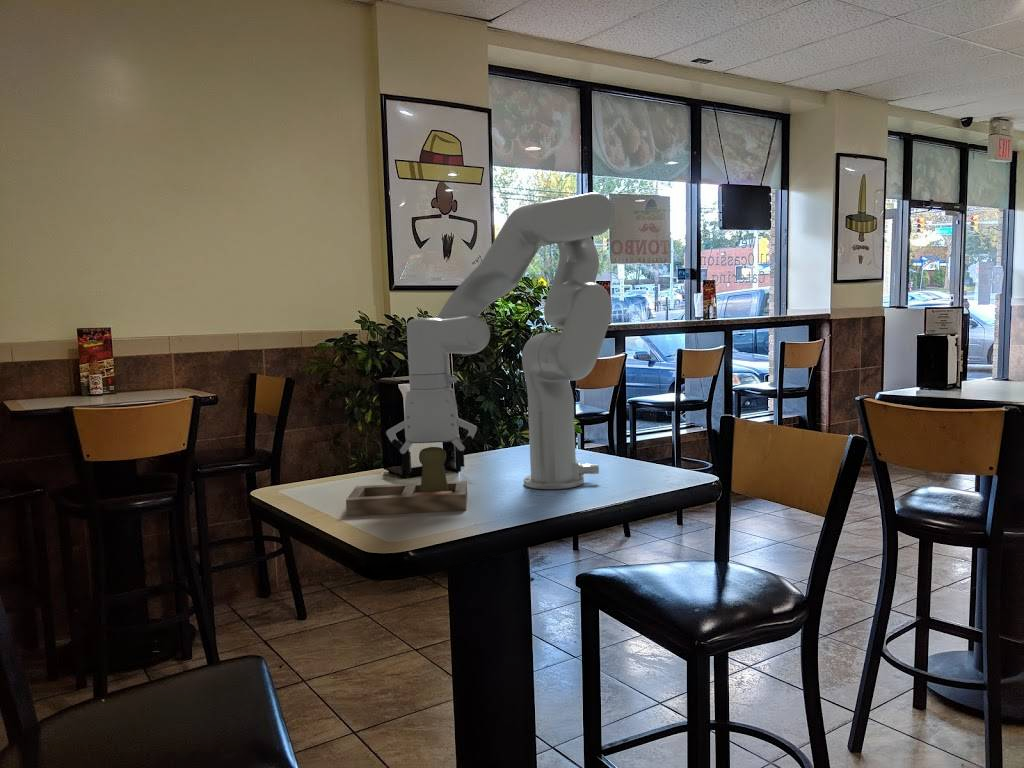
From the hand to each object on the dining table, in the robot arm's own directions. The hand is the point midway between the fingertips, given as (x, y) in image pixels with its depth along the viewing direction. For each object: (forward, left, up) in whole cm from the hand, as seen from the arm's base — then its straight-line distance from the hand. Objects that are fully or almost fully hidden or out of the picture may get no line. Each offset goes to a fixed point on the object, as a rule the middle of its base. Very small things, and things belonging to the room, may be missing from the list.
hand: (434, 471), depth 153 cm
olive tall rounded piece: (0, 0, -6) cm, 7 cm away
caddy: (+5, 0, -6) cm, 8 cm away
